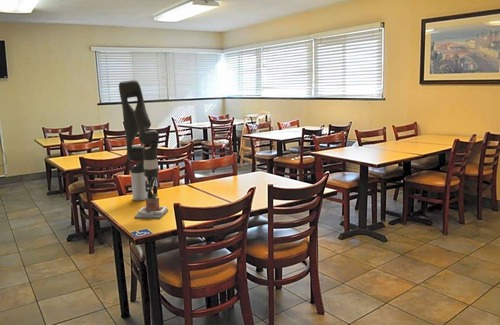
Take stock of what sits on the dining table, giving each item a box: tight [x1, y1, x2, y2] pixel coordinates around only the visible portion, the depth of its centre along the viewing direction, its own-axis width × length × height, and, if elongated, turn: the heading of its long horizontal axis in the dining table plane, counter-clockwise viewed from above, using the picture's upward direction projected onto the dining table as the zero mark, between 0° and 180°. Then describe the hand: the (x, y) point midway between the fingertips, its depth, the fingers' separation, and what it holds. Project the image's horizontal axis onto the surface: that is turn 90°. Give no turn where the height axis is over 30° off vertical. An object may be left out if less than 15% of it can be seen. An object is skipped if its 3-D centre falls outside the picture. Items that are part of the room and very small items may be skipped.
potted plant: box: [144, 192, 160, 211], centre depth 233 cm, size 8×3×10 cm, turn 73°
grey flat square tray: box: [134, 205, 169, 220], centre depth 231 cm, size 14×14×3 cm
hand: (152, 196), depth 233 cm, fingers open, 8 cm apart
